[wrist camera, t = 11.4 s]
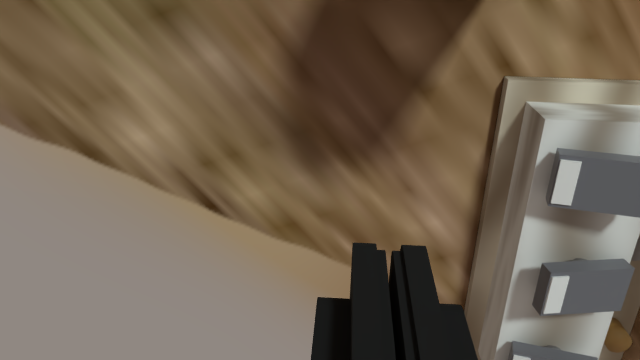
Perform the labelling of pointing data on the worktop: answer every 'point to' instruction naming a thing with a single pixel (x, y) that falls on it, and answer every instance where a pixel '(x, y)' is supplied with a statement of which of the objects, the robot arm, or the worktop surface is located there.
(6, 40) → the worktop surface
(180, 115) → the worktop surface
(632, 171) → the block
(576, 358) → the block
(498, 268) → the switch unit
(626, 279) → the rocker
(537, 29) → the worktop surface
